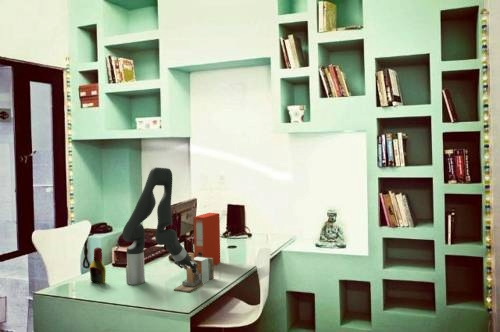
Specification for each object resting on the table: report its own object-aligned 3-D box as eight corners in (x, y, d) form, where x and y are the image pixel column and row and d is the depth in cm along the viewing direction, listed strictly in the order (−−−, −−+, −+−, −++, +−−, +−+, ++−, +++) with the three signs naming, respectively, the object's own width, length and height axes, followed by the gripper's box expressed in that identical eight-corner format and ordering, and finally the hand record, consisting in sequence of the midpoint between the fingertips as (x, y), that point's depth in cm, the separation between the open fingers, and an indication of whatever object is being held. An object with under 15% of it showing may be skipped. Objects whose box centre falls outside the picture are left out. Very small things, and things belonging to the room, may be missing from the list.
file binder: (220, 262, 307) (219, 213, 305) (205, 269, 292) (203, 217, 290) (210, 261, 311) (208, 212, 309) (194, 268, 296) (193, 216, 294)
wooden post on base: (182, 285, 258) (181, 254, 257) (190, 280, 265) (189, 250, 264) (193, 286, 255) (192, 255, 254) (201, 282, 263) (200, 251, 262)
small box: (190, 281, 268) (190, 259, 267) (198, 278, 273) (197, 256, 273) (202, 284, 264) (201, 260, 263) (209, 281, 269) (208, 258, 268)
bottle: (109, 283, 270) (107, 248, 268) (99, 285, 265) (97, 250, 264) (97, 279, 278) (96, 245, 276) (87, 281, 273) (86, 247, 272)
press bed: (173, 290, 253) (173, 268, 252) (198, 277, 277) (197, 256, 276) (190, 292, 249) (189, 270, 248) (213, 278, 273) (213, 258, 272)
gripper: (193, 249, 248) (205, 266, 260) (170, 247, 254) (183, 264, 266) (188, 262, 244) (201, 278, 256) (165, 259, 250) (179, 276, 262)
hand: (192, 271), depth 261 cm, fingers closed on wooden post on base, 3 cm apart
